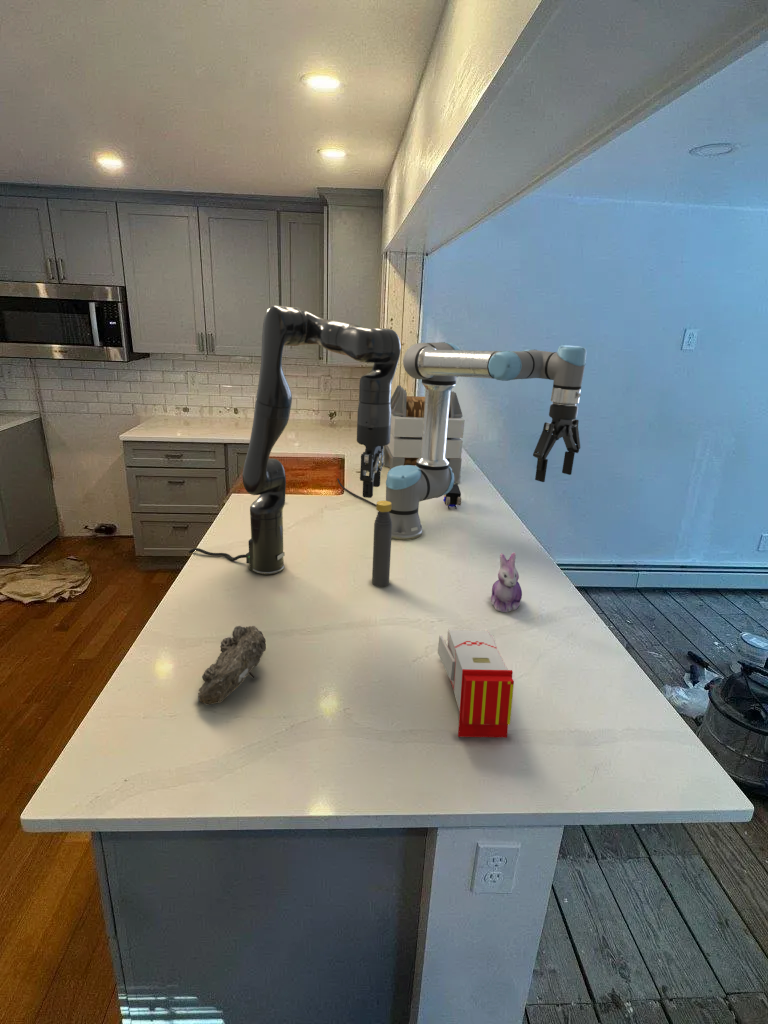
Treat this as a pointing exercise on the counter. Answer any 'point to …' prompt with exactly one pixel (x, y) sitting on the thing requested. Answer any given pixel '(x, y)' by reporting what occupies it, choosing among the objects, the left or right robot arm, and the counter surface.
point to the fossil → (232, 664)
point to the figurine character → (453, 497)
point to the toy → (478, 682)
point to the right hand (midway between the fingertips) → (553, 477)
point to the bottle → (382, 549)
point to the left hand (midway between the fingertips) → (371, 491)
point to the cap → (383, 506)
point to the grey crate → (420, 432)
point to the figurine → (506, 586)
